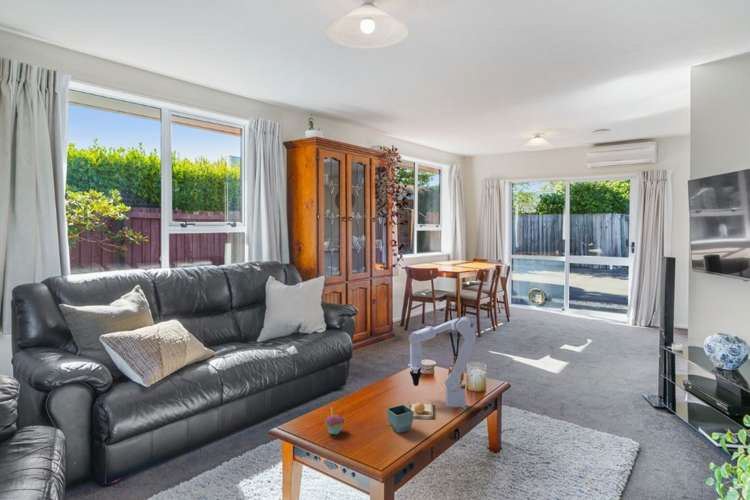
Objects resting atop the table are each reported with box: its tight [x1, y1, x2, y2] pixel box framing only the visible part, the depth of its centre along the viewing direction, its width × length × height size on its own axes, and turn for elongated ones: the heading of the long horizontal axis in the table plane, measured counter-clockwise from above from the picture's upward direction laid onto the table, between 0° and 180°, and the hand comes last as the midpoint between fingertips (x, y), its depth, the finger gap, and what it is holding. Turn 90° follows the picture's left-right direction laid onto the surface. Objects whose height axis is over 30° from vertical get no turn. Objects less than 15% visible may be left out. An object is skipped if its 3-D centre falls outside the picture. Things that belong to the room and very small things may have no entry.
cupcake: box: [324, 407, 345, 435], centre depth 195 cm, size 9×8×12 cm
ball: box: [414, 402, 425, 415], centre depth 211 cm, size 5×5×5 cm
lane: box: [409, 403, 431, 412], centre depth 213 cm, size 12×17×1 cm
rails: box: [406, 400, 434, 420], centre depth 213 cm, size 12×17×2 cm
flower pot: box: [386, 404, 415, 434], centre depth 195 cm, size 9×9×9 cm
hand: (416, 383), depth 226 cm, fingers open, 7 cm apart
